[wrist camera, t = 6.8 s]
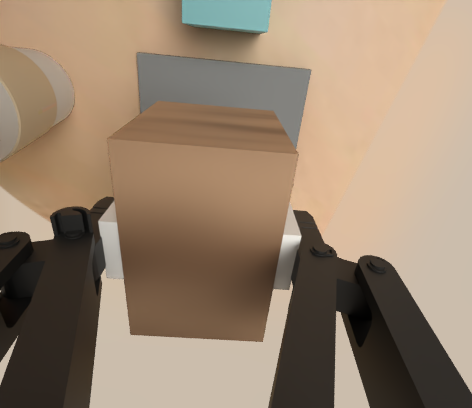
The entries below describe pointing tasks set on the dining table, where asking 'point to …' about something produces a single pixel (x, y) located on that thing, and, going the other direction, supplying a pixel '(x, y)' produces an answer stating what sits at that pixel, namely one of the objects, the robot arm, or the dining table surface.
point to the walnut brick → (201, 217)
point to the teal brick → (228, 14)
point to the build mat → (225, 86)
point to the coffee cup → (30, 97)
